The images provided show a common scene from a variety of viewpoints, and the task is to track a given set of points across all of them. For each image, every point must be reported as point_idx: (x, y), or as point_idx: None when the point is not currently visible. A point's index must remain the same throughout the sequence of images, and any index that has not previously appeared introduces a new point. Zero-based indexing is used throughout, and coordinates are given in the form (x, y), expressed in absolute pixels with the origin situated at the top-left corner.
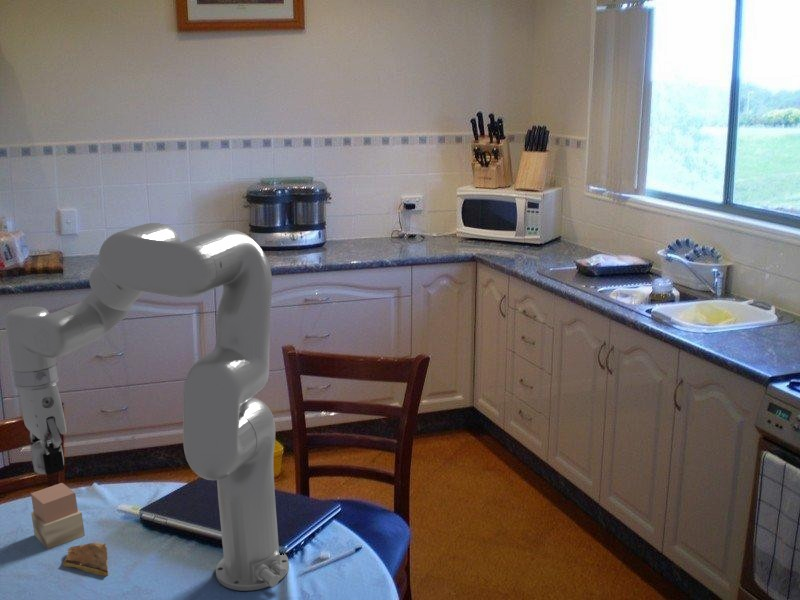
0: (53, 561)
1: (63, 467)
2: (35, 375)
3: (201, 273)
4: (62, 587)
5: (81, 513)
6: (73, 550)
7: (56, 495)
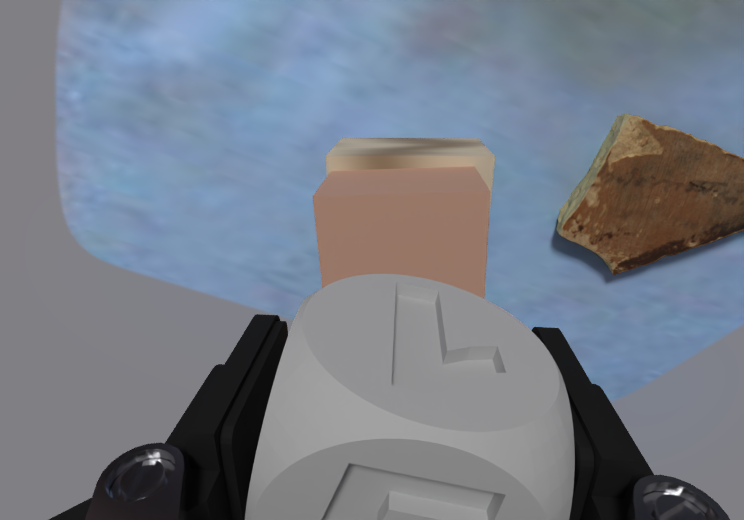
0: (553, 278)
1: (561, 335)
2: None
3: None
4: (716, 312)
5: (493, 156)
6: (592, 229)
7: (442, 272)
